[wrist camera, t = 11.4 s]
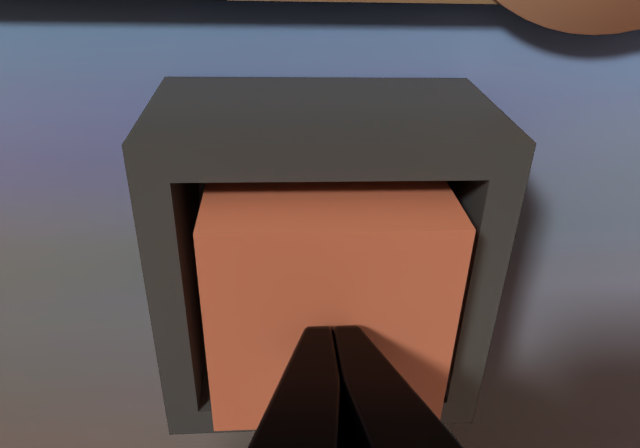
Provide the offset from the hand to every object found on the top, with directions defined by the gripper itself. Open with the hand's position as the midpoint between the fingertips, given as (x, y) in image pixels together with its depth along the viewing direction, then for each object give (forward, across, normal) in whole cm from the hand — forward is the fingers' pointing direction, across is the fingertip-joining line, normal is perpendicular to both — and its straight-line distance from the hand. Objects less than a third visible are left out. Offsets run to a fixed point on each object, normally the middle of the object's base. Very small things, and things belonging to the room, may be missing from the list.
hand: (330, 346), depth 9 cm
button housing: (+4, 0, 0) cm, 4 cm away
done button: (+2, 0, 0) cm, 2 cm away
